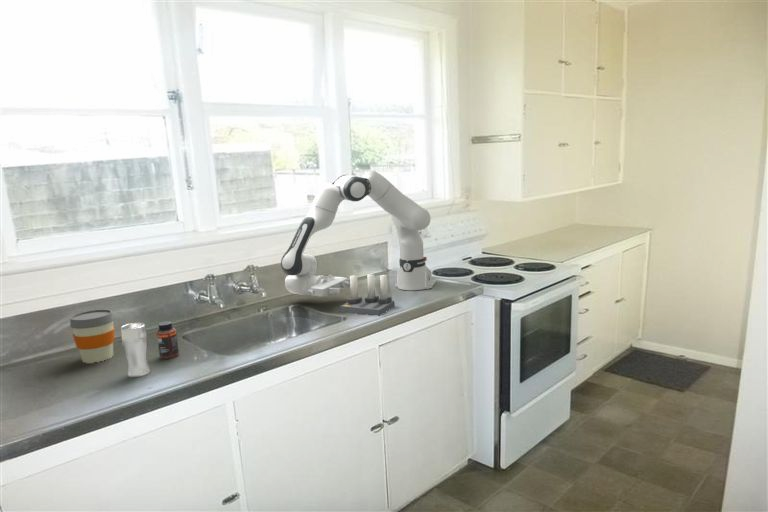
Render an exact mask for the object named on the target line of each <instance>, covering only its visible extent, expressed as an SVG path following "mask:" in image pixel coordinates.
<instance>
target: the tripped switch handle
mask: <svg viewBox="0 0 768 512" xmlns="http://www.w3.org/2000/svg"><path fill="white" fill-rule="evenodd" d="M349 283H350V288H349V289H350V298H347V302H348V303H352V304H357V303H359V302H361V301H362V298H363V297H362V296H361V297H360V296H359V287H358V286H359V285H358V275H350V276H349Z"/></svg>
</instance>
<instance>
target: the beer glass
mask: <svg viewBox="0 0 768 512" xmlns="http://www.w3.org/2000/svg"><path fill="white" fill-rule="evenodd" d="M120 337H121V338H120V339H121V346H122V349H123V353H124V356H125V358H126V360H127V365H128V366H127V367H128V368H127V369H128V370H127V376H128V377H129V378H139V377H144V376H146V375H148V374H149V373H150V372H151V369H150V366H149V362H148V348H149V347H148V346H149V345H148V343H149V341H148V333H147V328H146V324H145V323H144V322H131V323H127V324H124V325H122V326H121V327H120Z"/></svg>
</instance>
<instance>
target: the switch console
mask: <svg viewBox="0 0 768 512" xmlns="http://www.w3.org/2000/svg"><path fill="white" fill-rule="evenodd" d="M366 278H367V279H366V280H367V297H362V301H361V302H359V303H357V304H352V303H348V301H347V302H345V303H343V304H341V305H339V311H340V312H339V313H345V314H346V313H348V314H355V313H357V314H358V315H365V314H368V315H367V316H374V315H378V316H377V317H380V316H382V315H384V314H386V313H387V312H389V311H390V310H392V309H393V308H395V306H396V305H395V300H393V297H392V296H389V288H388V287H389V283H388V281H389V280H388V274H387V275H386V274H382V275H381V274H380V276H379V282H380V283H379V284H380V287H379V288H380V297H379V295H376V283H375V281H376V280H375V274H372V273H371V274H370V273H369V274H367V277H366ZM391 308H392V309H391ZM389 309H390V310H389ZM386 311H387V312H386ZM383 313H384V314H383ZM357 314H356V315H357ZM381 314H382V315H381Z"/></svg>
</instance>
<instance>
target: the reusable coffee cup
mask: <svg viewBox="0 0 768 512" xmlns="http://www.w3.org/2000/svg"><path fill="white" fill-rule="evenodd" d="M69 319H70V323H69V324H70V328H71V329H72V331H73V334H72V337H73V340H74V343H75V347H76V348H77V349H78V350H79V355H80V358H81V359H82V360H81V361H82V363H84V362H86V363H85V364H95V363H94V362H97V363H101V362H100V361H102V362H105V361H107V359H108V360H109V358H110V359H112V358H113V357H114V342H115V326H114V320H115V318H114V313H113V310H111V309H105V308H104V309H103V308H101V309H92V310H86V311H81V312H77V313H75V314H74V315H73V314H72V316H70V317H69ZM112 356H113V357H112ZM104 360H105V361H104Z"/></svg>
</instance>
